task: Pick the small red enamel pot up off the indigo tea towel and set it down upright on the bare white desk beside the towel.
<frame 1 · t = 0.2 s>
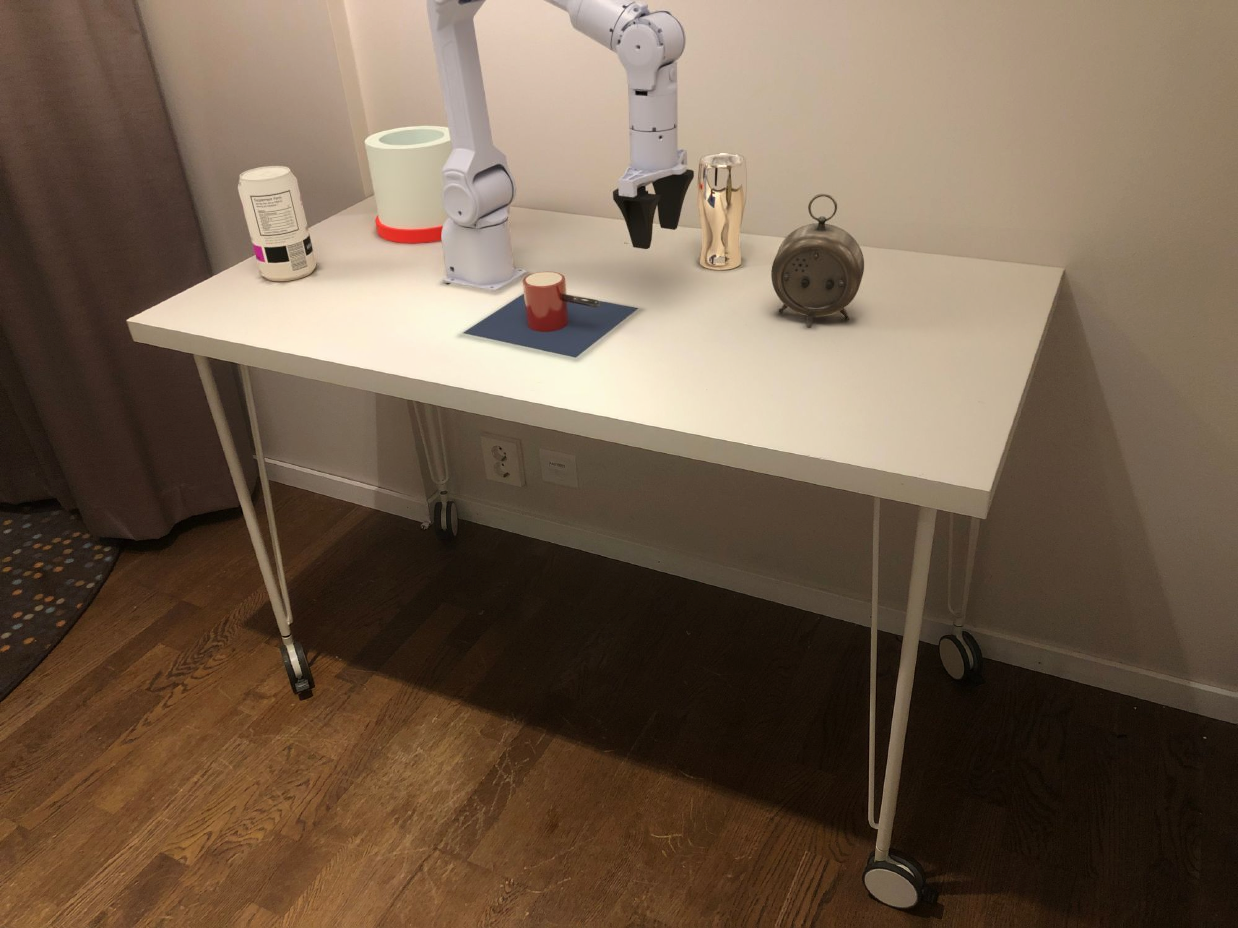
hand: (655, 237, 118), 10 cm above the table, tool pointing down, fingers open, 7 cm apart
cloth: (552, 322, 122), on the table
alarm clock: (812, 322, 119), on the table
pot: (547, 323, 121), resting on cloth
beer glass: (720, 264, 137), on the table
container: (426, 228, 156), on the table
supplement can: (289, 274, 141), on the table
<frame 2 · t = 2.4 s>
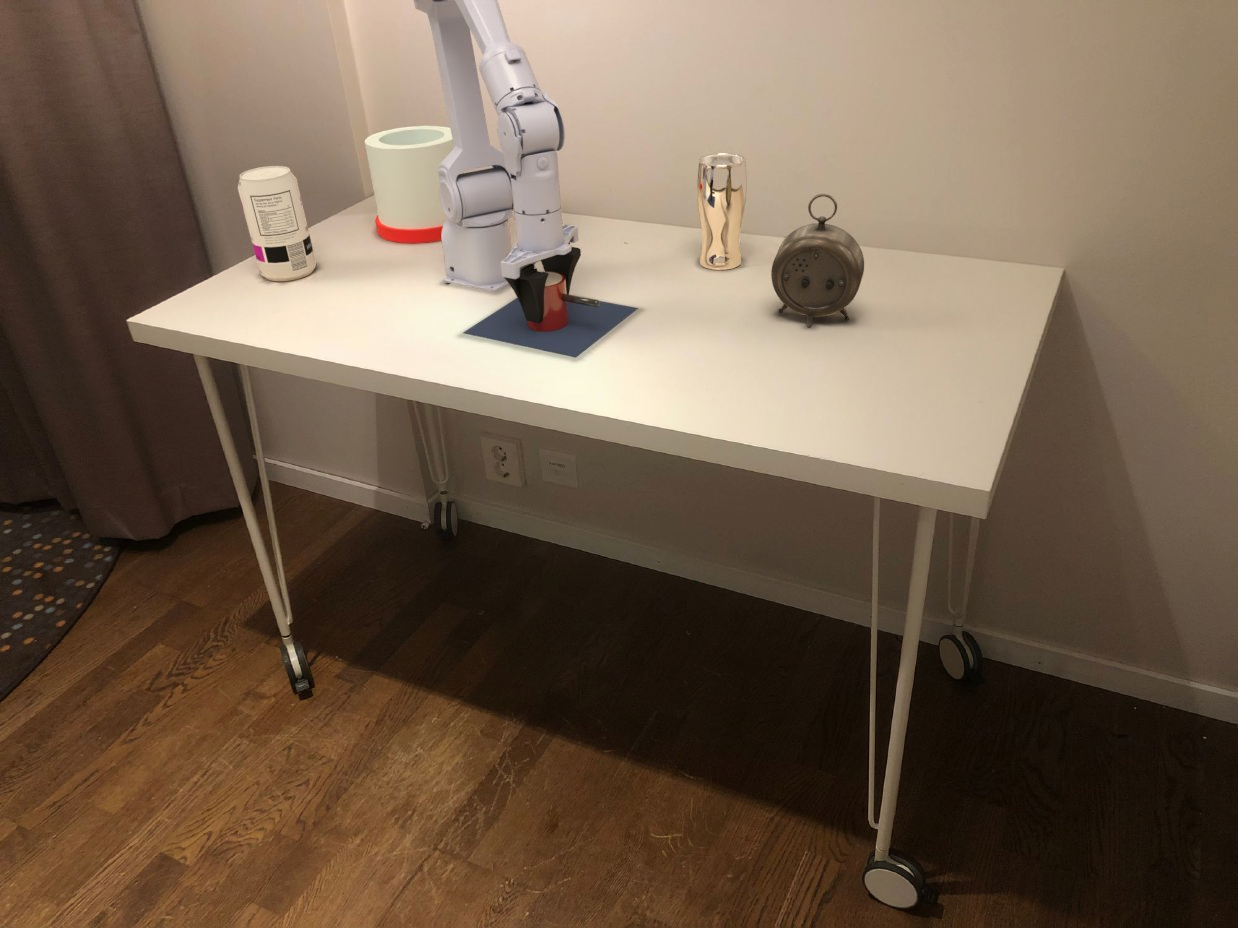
hand: (546, 312, 120), 2 cm above the table, tool pointing down, fingers closed on pot, 5 cm apart
pot: (548, 323, 121), resting on cloth, touching gripper
everything else where it was.
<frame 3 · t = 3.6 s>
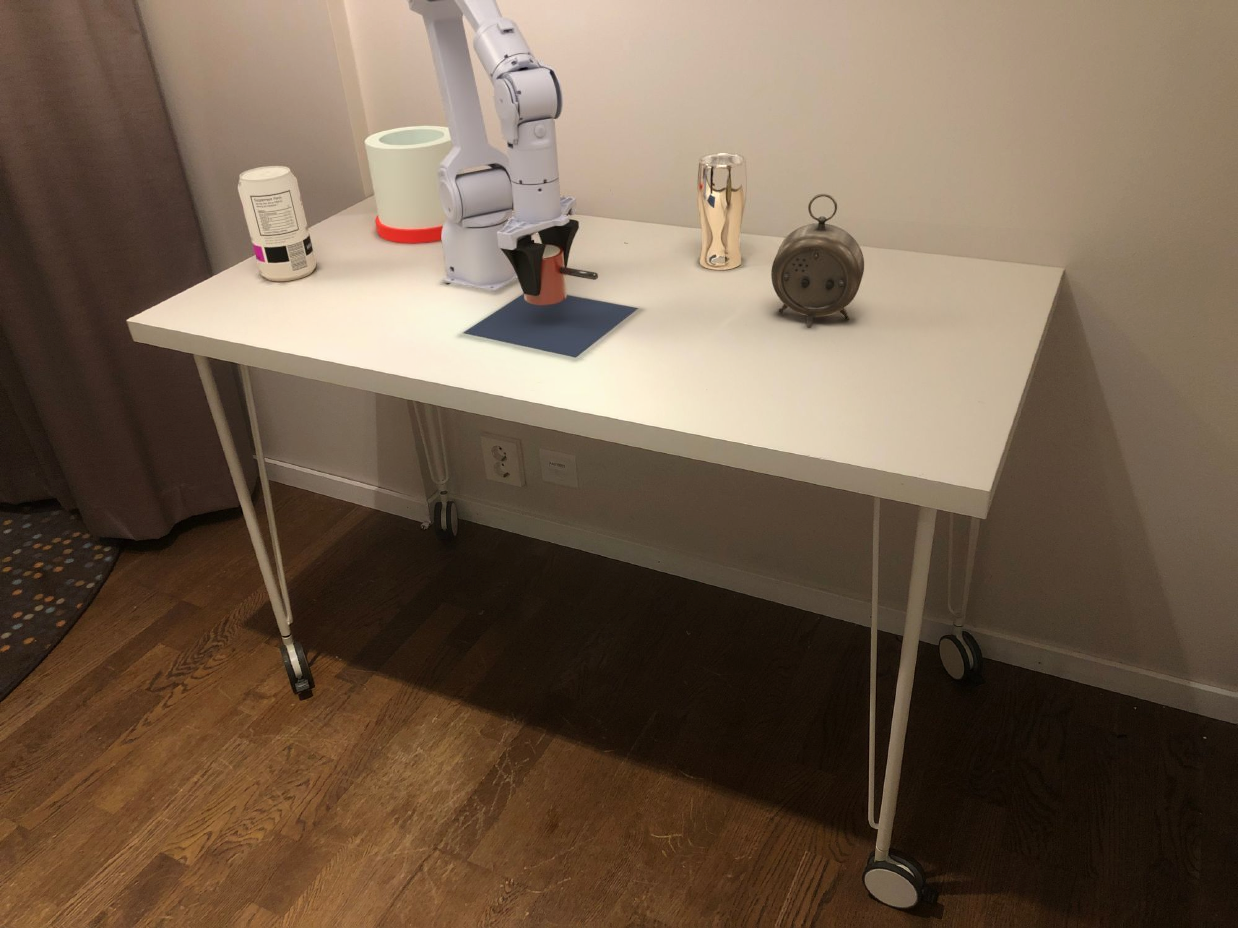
hand: (544, 285, 118), 5 cm above the table, tool pointing down, fingers closed on pot, 5 cm apart
pot: (545, 297, 119), point 4 cm above the table, touching gripper
everything else where it was.
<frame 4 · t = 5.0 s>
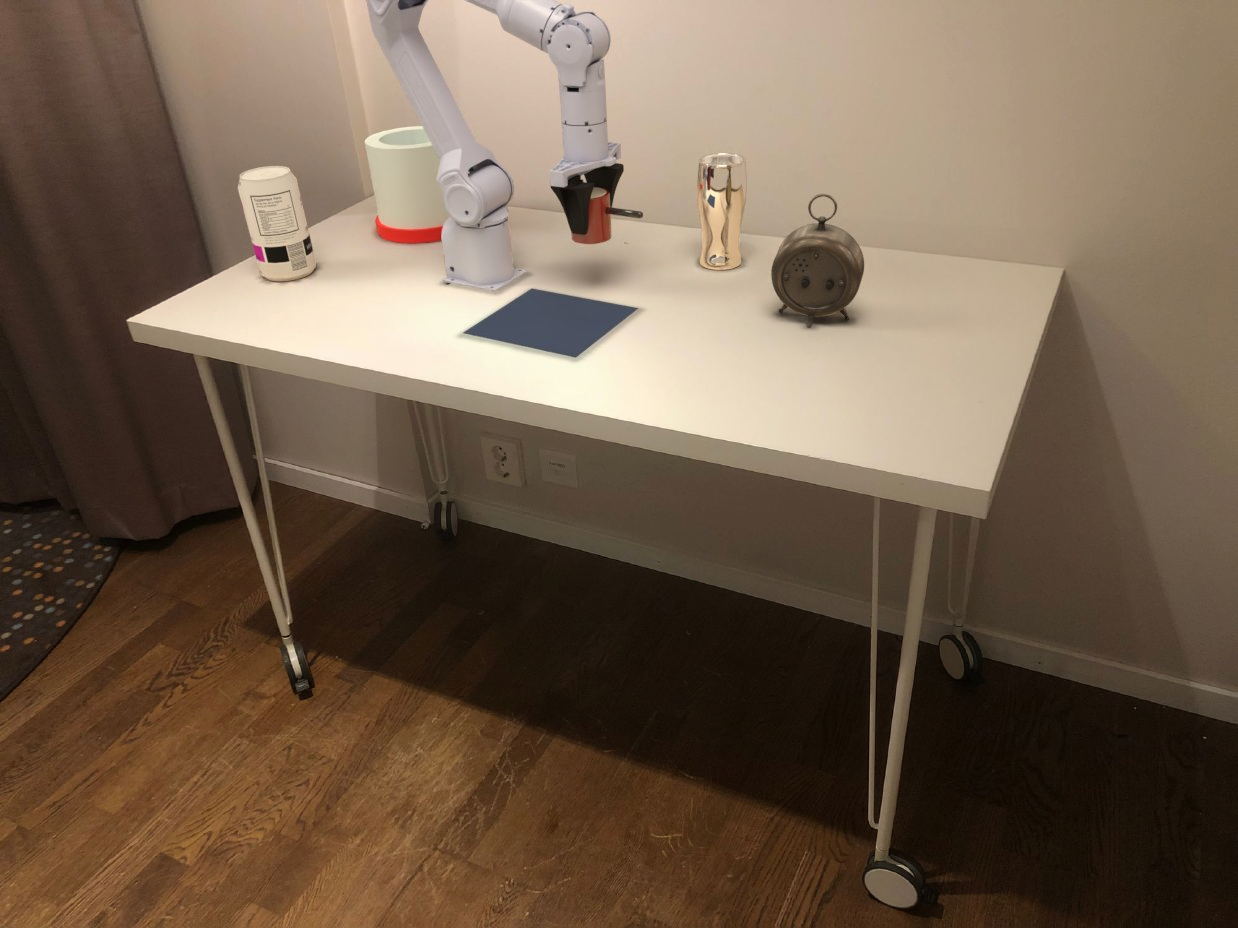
hand: (590, 226, 124), 9 cm above the table, tool pointing down, fingers closed on pot, 5 cm apart
pot: (591, 237, 125), point 8 cm above the table, touching gripper
everything else where it was.
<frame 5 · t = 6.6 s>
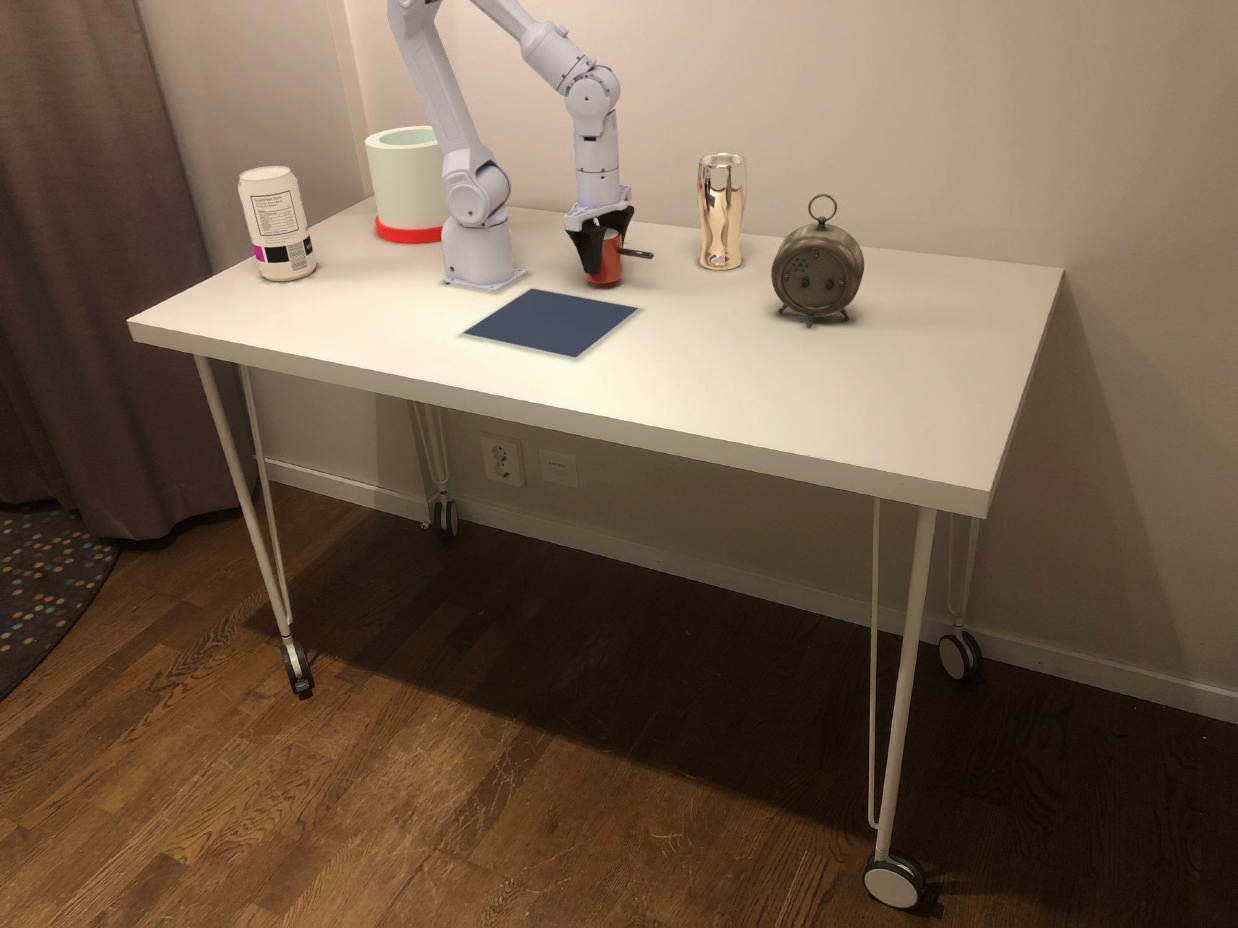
hand: (602, 265, 130), 3 cm above the table, tool pointing down, fingers closed on pot, 5 cm apart
pot: (603, 276, 131), point 1 cm above the table, touching gripper
everything else where it was.
when the fingers open (1 cm above the table, at t = 7.7 s): pot stays where it is, on the table.
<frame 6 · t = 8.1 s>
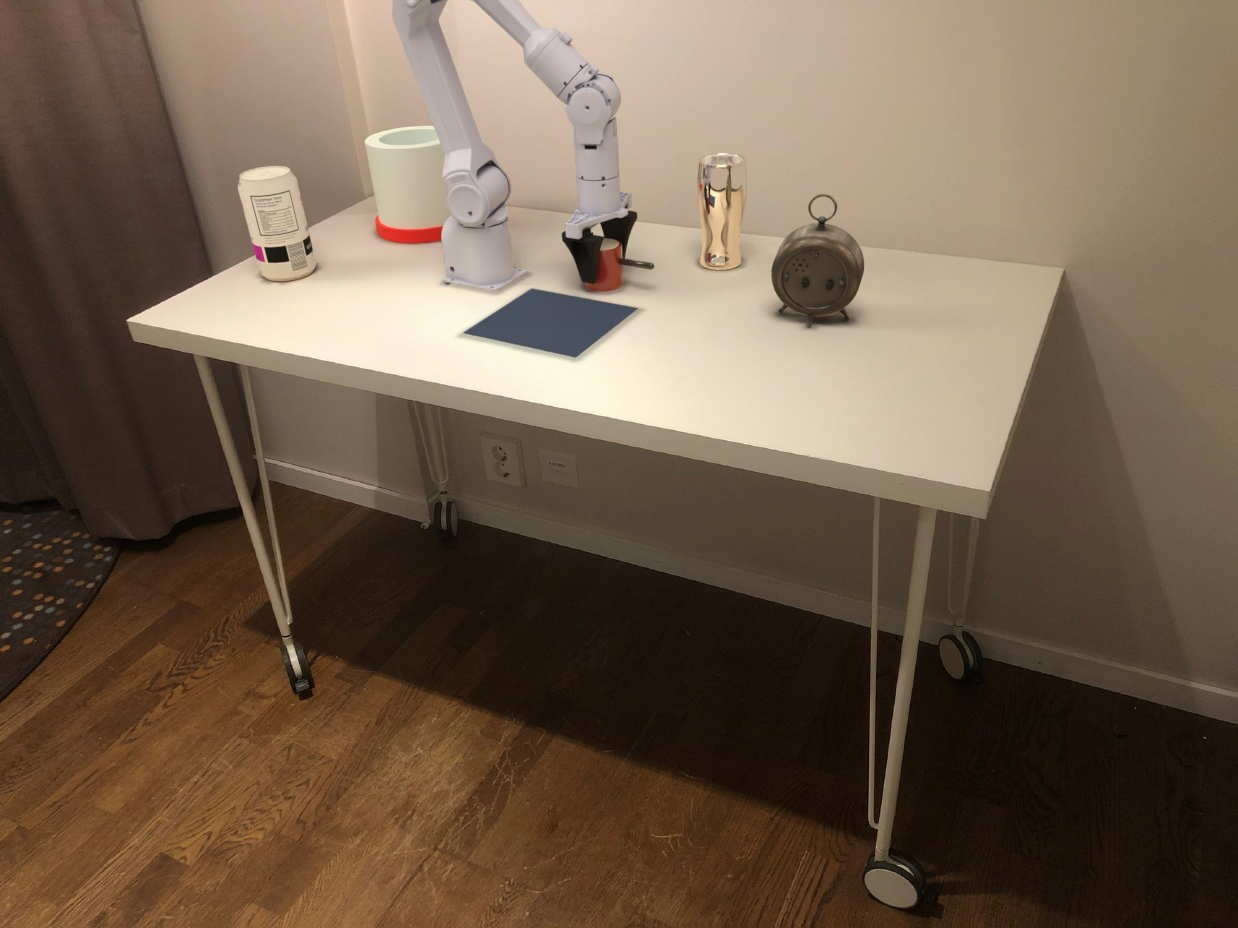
hand: (602, 272, 130), 2 cm above the table, tool pointing down, fingers open, 7 cm apart
pot: (604, 285, 131), on the table
everything else where it was.
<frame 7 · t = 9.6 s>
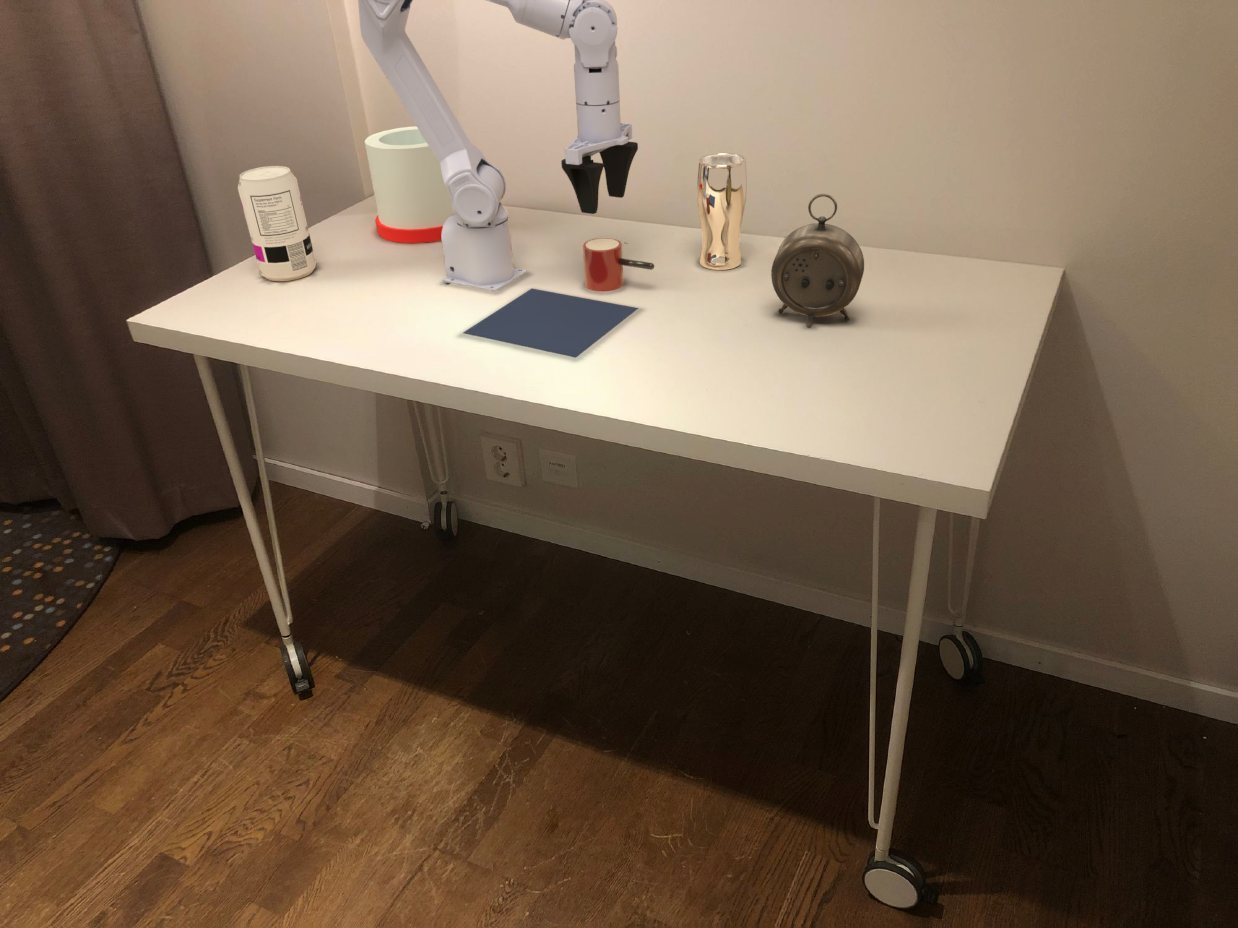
hand: (603, 204, 129), 10 cm above the table, tool pointing down, fingers open, 7 cm apart
nothing on the table moved.
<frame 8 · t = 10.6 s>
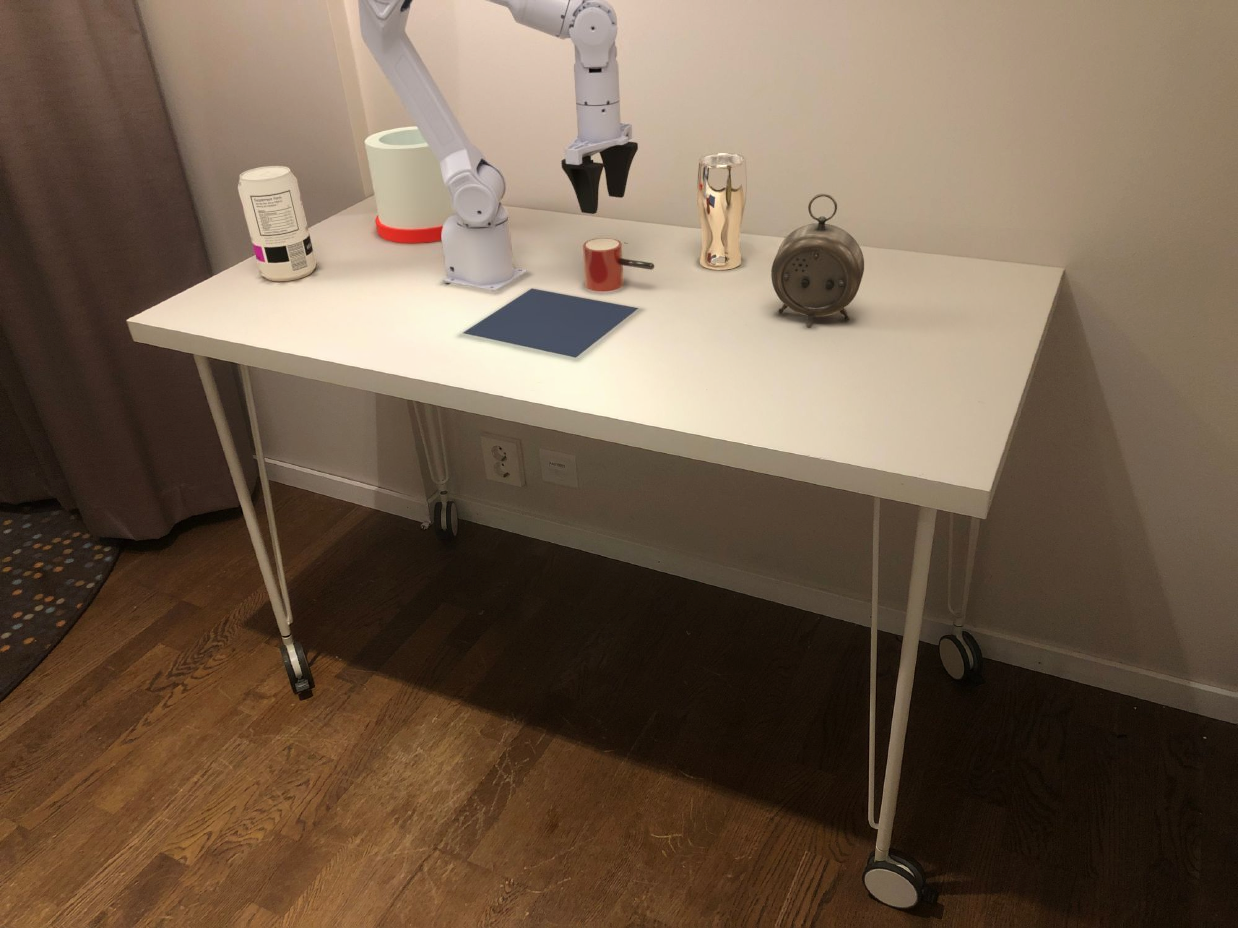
hand: (603, 204, 129), 10 cm above the table, tool pointing down, fingers open, 7 cm apart
nothing on the table moved.
at the end: pot touching table; pot inside the target area (1.7 cm from its centre), on the table; pot tilted 0° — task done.
